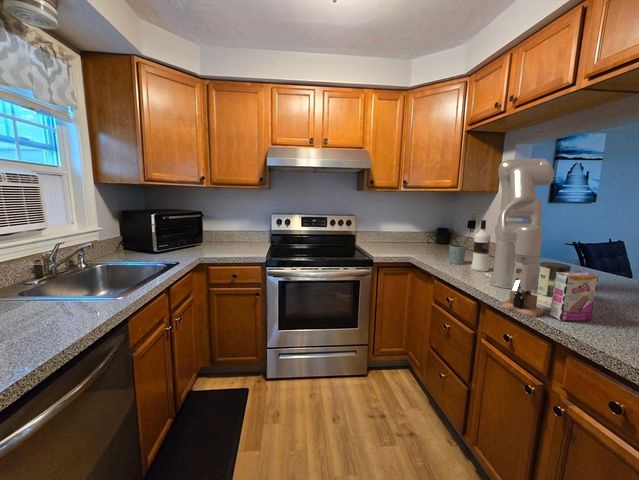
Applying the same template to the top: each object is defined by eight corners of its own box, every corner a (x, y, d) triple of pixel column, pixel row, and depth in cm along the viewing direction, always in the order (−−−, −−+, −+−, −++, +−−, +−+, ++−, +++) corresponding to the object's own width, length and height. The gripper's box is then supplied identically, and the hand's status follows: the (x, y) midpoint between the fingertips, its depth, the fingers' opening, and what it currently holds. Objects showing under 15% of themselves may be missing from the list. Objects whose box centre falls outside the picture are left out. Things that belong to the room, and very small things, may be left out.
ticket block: (519, 299, 119) (519, 295, 119) (528, 296, 123) (528, 292, 123) (554, 308, 109) (554, 304, 109) (562, 304, 113) (563, 300, 113)
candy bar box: (561, 322, 97) (567, 275, 95) (549, 316, 102) (554, 271, 100) (592, 321, 97) (599, 275, 95) (579, 315, 102) (585, 271, 100)
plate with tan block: (500, 306, 111) (501, 290, 110) (509, 302, 115) (511, 287, 114) (535, 317, 101) (537, 299, 100) (544, 312, 105) (546, 296, 104)
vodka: (474, 267, 175) (478, 219, 171) (491, 270, 168) (495, 220, 164) (468, 269, 170) (471, 219, 165) (484, 272, 162) (489, 220, 158)
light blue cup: (461, 262, 191) (462, 244, 190) (467, 265, 181) (469, 247, 180) (445, 261, 192) (447, 244, 190) (451, 265, 182) (452, 246, 181)
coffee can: (571, 297, 122) (575, 265, 120) (560, 301, 117) (564, 268, 115) (543, 290, 131) (546, 261, 129) (531, 294, 126) (535, 263, 124)
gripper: (527, 263, 97) (521, 314, 99) (548, 258, 106) (542, 305, 108) (503, 259, 103) (499, 307, 106) (525, 255, 112) (520, 299, 115)
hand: (521, 306), depth 107 cm, fingers open, 4 cm apart
